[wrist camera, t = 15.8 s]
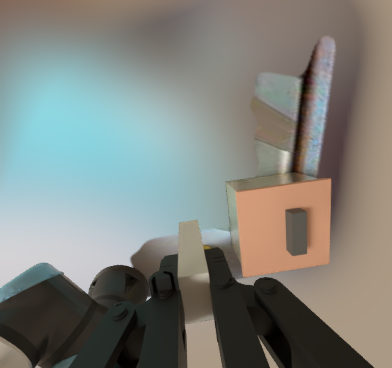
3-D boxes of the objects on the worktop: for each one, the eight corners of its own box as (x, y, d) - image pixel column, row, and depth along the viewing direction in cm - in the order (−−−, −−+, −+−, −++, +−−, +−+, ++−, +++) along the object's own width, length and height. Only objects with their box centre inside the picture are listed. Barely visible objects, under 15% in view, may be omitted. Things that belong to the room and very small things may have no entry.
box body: (231, 245, 55) (243, 270, 44) (225, 181, 51) (237, 192, 40) (295, 235, 56) (322, 258, 45) (293, 171, 52) (323, 180, 41)
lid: (242, 273, 44) (247, 285, 40) (234, 190, 40) (240, 195, 36) (325, 260, 45) (337, 270, 41) (326, 177, 41) (340, 181, 37)
